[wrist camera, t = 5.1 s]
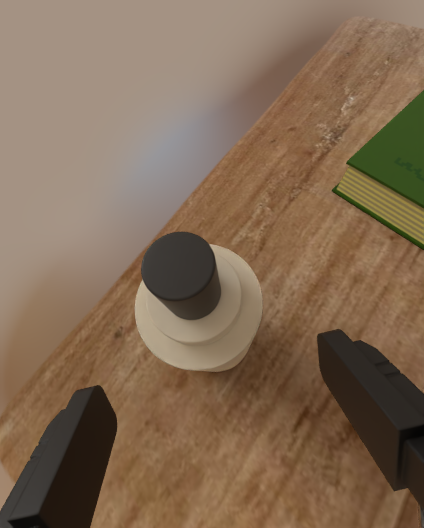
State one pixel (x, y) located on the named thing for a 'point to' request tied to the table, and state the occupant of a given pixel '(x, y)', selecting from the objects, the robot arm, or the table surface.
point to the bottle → (197, 303)
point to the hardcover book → (391, 174)
